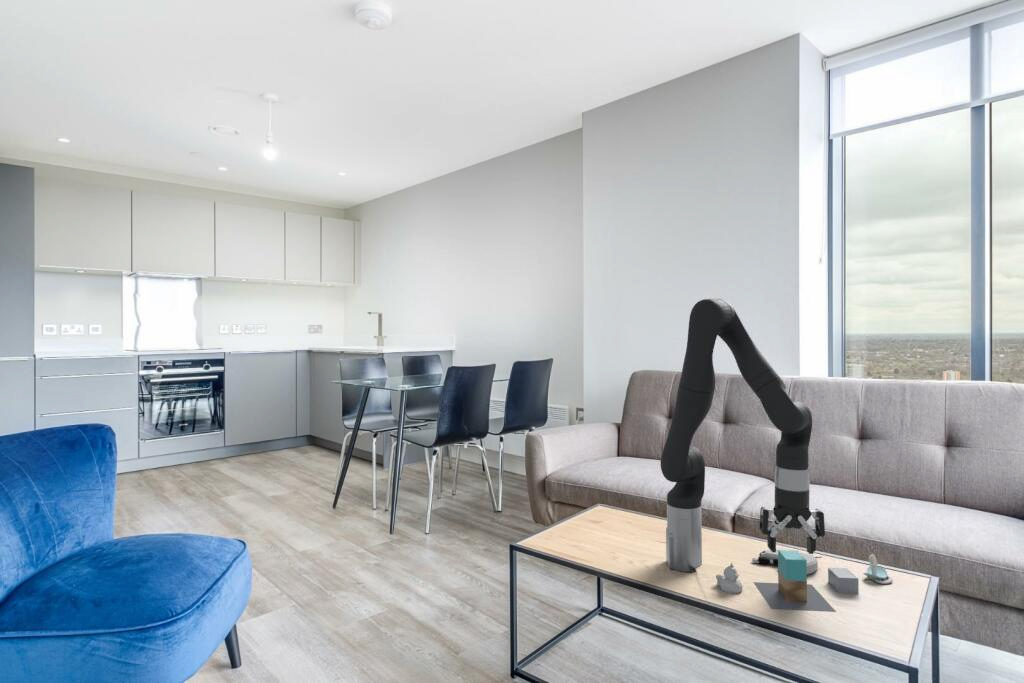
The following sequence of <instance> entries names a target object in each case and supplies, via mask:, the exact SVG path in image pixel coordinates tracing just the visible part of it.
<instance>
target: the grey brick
mask: <svg viewBox="0 0 1024 683" xmlns="http://www.w3.org/2000/svg"><path fill="white" fill-rule="evenodd" d="M827 581H828V584H830V585H831V587H833V588H834V590H836V592H838V594H839V593H840V594H841V593H842V594H857V595H858V594H859V592H860V591H859V577H858V576H857V575H855V574H854V573H853V572H852V571H851V570H850V569H849V568H847V567H827Z"/></svg>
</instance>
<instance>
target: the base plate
mask: <svg viewBox="0 0 1024 683" xmlns="http://www.w3.org/2000/svg"><path fill="white" fill-rule="evenodd" d="M753 584H754V586H756V588H757V590H758V591H759V593H760V594H761V596H762V597H763V598H764V600H765V601H766V603H767V605H768V606H769V607H770V609H771V610H786V611H787V610H788V611H810V612H811V611H812V612H831V613H832V612H833V613H836V612H837V610H835V609H834V608H833V606H832V605H831V604H830V603H829V602H828V601H827V599H825V597H824V596H823V595H822V594H821V593H820V592H819V591H818V590H817V589H816V587H814V585H812V584H808V583H807V602H788V601H786V599H785V598H784V597H783V595H782V594H781V593H780V592H779V590H778V582H755V581H754V582H753Z"/></svg>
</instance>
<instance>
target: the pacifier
mask: <svg viewBox="0 0 1024 683" xmlns="http://www.w3.org/2000/svg"><path fill="white" fill-rule="evenodd" d="M868 563H869V564H870V565H869V566H868V567H867V568H866V571H867V573H866V572H863V575H865V576H867V577H869V579H870V580H871V579H872V580H871V581H873V580H874V581H873V582H876V583H878V584H882V585H888V584H892V582H893V577H892V576H890V575H888V572H887V570H886V568H884V567H882V566H881V565H878V560H877V558H876V556H875V554H874V553H872V554H870V555H869V557H868ZM882 579H886V580H882Z"/></svg>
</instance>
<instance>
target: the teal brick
mask: <svg viewBox="0 0 1024 683" xmlns="http://www.w3.org/2000/svg"><path fill="white" fill-rule="evenodd" d="M777 550H778V566H777V567H778V568H777V571H778V570H779V571H780V573H781V574H782V575H783V577H784V578H785V579H786V580H789V581H807V582H808V579H807V578H808V575H807V560H806V559H805V558H804V557H803V556H802V555H801V554H800V553H801V552H799V550H798V549H797V550H794V549H777Z"/></svg>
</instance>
